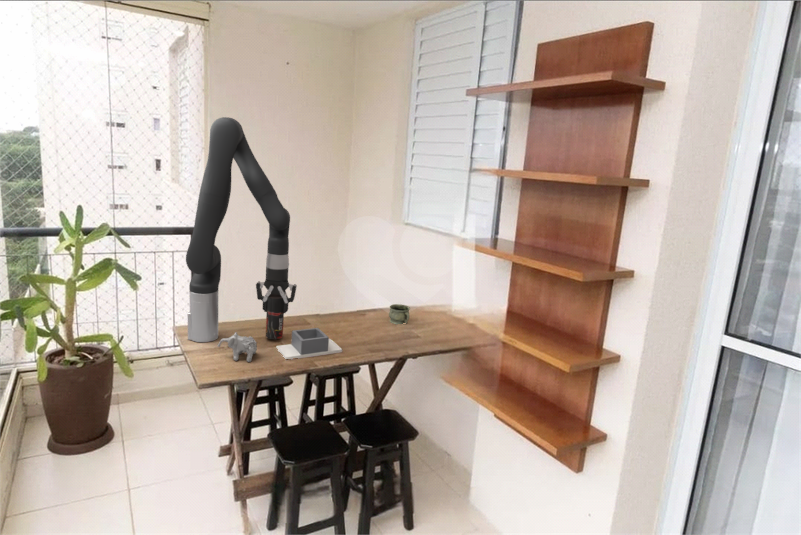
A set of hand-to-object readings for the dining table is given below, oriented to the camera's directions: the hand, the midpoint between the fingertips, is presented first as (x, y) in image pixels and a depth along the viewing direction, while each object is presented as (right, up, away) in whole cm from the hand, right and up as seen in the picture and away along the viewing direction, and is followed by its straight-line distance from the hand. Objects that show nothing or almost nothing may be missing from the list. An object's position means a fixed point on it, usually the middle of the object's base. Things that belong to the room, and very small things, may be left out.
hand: (275, 311), depth 177 cm
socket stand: (+13, -13, -4) cm, 19 cm away
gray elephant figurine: (-9, -14, -15) cm, 22 cm away
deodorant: (-1, -9, +2) cm, 9 cm away
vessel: (+43, -7, +33) cm, 55 cm away
